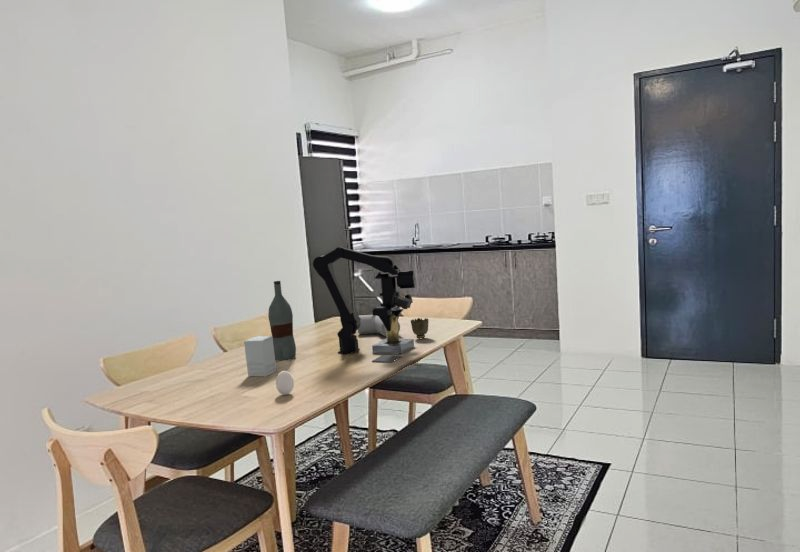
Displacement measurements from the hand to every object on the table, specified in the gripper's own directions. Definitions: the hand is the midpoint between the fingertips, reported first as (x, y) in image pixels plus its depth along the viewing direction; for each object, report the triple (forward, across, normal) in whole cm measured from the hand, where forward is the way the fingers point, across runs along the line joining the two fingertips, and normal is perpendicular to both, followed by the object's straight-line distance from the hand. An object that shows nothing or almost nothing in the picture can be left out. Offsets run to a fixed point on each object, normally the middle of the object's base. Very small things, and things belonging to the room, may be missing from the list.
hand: (392, 329), depth 220 cm
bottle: (+8, -18, +38) cm, 43 cm away
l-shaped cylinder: (+8, +26, +19) cm, 33 cm away
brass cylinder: (+4, 0, 0) cm, 4 cm away
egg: (+8, -57, +9) cm, 58 cm away
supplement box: (+8, -38, +33) cm, 51 cm away
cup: (+8, +20, -3) cm, 22 cm away
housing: (+8, 0, 0) cm, 8 cm away
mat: (+8, -14, -4) cm, 17 cm away
